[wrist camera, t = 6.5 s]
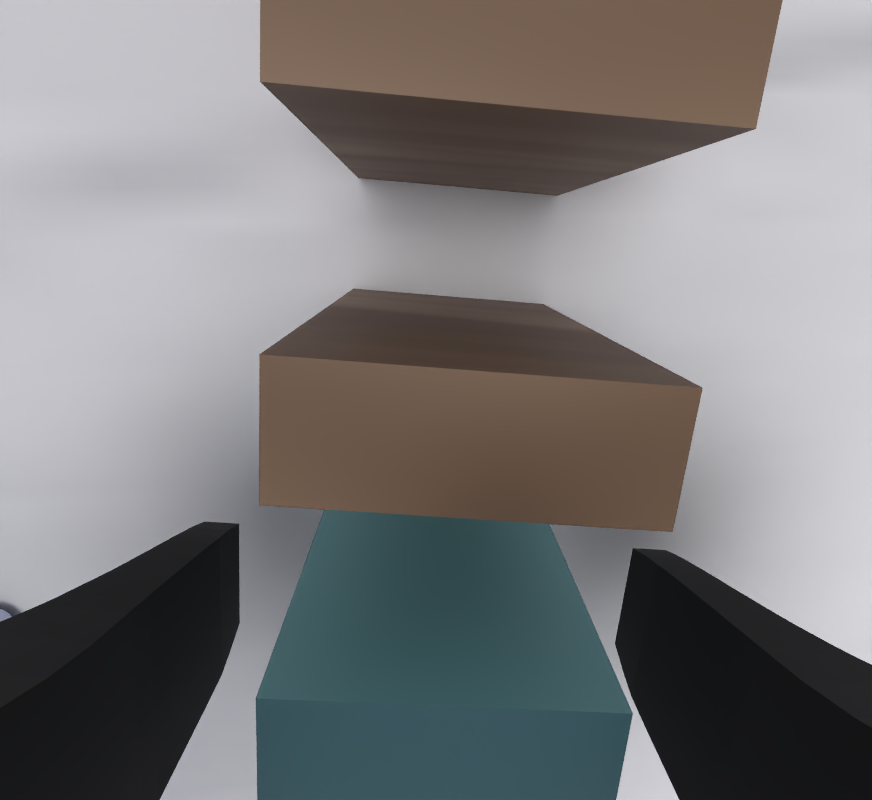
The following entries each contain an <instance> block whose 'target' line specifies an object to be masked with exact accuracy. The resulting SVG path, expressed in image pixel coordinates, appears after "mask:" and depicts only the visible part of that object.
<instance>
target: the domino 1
mask: <svg viewBox="0 0 872 800" xmlns="http://www.w3.org/2000/svg"><path fill="white" fill-rule="evenodd" d="M781 5H782V0H260V82H261V83H262V84H263V85H264V86H265V87H266V88H267V89H268V90H269V91H270V92H271V93H272V94H273V95H274V96H275V97H276V98H278V99H279V100H280V101H281V102H282V103H283V104H284V105H285V106H286V107H287V108H288V109H289V110H290V111H291V112H292V113H293V114H294V115H295V116H296V117H297V118H298V119H299V120H300V121H301V122H302V123H303V124H304V125H305V126H306V127H307V128H308V129H309V130H310V131H311V132H312V133H313V134H314V135H315V136H316V137H317V138H318V139H319V140H320V141H321V142H322V143H323V144H324V145H326V146H327V147H328V148H329V149H330V150H331V151H332V152H333V153H334V154H335V155H336V156H337V157H338V158H339V159H340V160H341V161H342V162H343V163H344V164H345V165H346V166H347V167H348V168H349V169H350V170H351V171H352V172H353V173H354V174H355V175H356V176H357V177H358V178H366V179H377V180H389V181H400V182H411V183H422V184H434V185H445V186H456V187H467V188H479V189H490V190H501V191H512V192H524V193H535V194H546V195H560V194H563V193H566V192H569V191H572V190H575V189H578V188H581V187H584V186H587V185H590V184H593V183H596V182H599V181H602V180H605V179H608V178H611V177H614V176H617V175H620V174H623V173H626V172H629V171H632V170H635V169H638V168H641V167H644V166H647V165H650V164H653V163H655V162H658V161H661V160H664V159H667V158H670V157H673V156H676V155H679V154H682V153H685V152H688V151H691V150H694V149H697V148H700V147H703V146H706V145H709V144H712V143H715V142H718V141H721V140H724V139H727V138H730V137H733V136H736V135H739V134H742V133H745V132H748V131H751V130H754V129H756V125H757V120H758V116H759V111H760V106H761V101H762V96H763V91H764V87H765V82H766V77H767V72H768V67H769V63H770V58H771V53H772V48H773V43H774V38H775V34H776V29H777V24H778V19H779V14H780V9H781Z"/></svg>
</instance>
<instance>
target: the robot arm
mask: <svg viewBox="0 0 872 800" xmlns="http://www.w3.org/2000/svg"><path fill="white" fill-rule="evenodd" d="M239 623H240V622H239V524H233V523H217V522H203V523H200V524H198V525H196V526H193V527H191V528H189V529H187V530H186V531H184V532H182V533H180V534H178V535H176V536H174V537H172V538H171V539H169V540H167V541H165V542H163V543H161V544H160V545H158V546H156V547H154V548H152V549H150V550H149V551H147V552H145V553H143V554H141V555H139V556H138V557H136V558H134V559H132V560H130V561H128V562H126V563H125V564H123V565H121V566H119V567H117V568H115V569H113V570H111V571H109V572H107V573H105V574H103V575H101V576H99V577H97V578H95V579H93V580H91V581H89V582H87V583H85V584H83V585H81V586H79V587H77V588H75V589H73V590H71V591H69V592H67V593H65V594H63V595H61V596H59V597H57V598H54V599H52V600H50V601H48V602H46V603H43V604H41V605H39V606H37V607H34V608H32V609H30V610H27V611H25V612H23V613H20V614H18V615H15V616H13V617H12V616H11V615H10V614H9V613H7V612H6V611H4V610H2V609H0V800H160V798H161V796H162V794H163V792H164V790H165V788H166V786H167V784H168V782H169V780H170V778H171V776H172V774H173V772H174V770H175V768H176V766H177V764H178V762H179V760H180V758H181V756H182V754H183V752H184V750H185V748H186V746H187V744H188V742H189V740H190V738H191V736H192V734H193V732H194V730H195V728H196V726H197V724H198V722H199V720H200V718H201V716H202V714H203V712H204V710H205V708H206V706H207V704H208V702H209V700H210V698H211V696H212V694H213V691H214V689H215V687H216V685H217V683H218V681H219V679H220V677H221V675H222V672H223V669H224V667H225V664H226V661H227V658H228V656H229V653H230V650H231V647H232V644H233V641H234V638H235V635H236V632H237V629H238V626H239ZM615 645H616V648H617V652H618V655H619V659H620V662H621V665H622V669H623V672H624V675H625V678H626V681H627V684H628V687H629V690H630V693H631V696H632V698H633V701H634V703H635V705H636V707H637V710H638V712H639V714H640V716H641V718H642V721H643V723H644V725H645V727H646V729H647V732H648V734H649V736H650V738H651V740H652V742H653V744H654V747H655V749H656V751H657V753H658V755H659V757H660V759H661V762H662V764H663V766H664V768H665V770H666V772H667V774H668V776H669V779H670V781H671V783H672V785H673V787H674V789H675V791H676V794H677V796H678V798H679V800H872V665H871V664H869V663H867V662H865V661H863V660H860V659H858V658H856V657H854V656H852V655H851V654H849V653H847V652H845V651H843V650H841V649H839V648H837V647H835V646H833V645H831V644H829V643H827V642H826V641H824V640H822V639H820V638H818V637H816V636H815V635H813V634H811V633H809V632H807V631H805V630H804V629H802V628H800V627H798V626H796V625H795V624H793V623H791V622H789V621H788V620H786V619H784V618H782V617H781V616H779V615H777V614H775V613H774V612H772V611H770V610H769V609H767V608H765V607H763V606H762V605H760V604H758V603H757V602H755V601H753V600H752V599H750V598H748V597H747V596H745V595H743V594H742V593H740V592H738V591H737V590H735V589H733V588H732V587H730V586H729V585H727V584H725V583H724V582H722V581H720V580H719V579H717V578H715V577H714V576H712V575H710V574H709V573H707V572H705V571H704V570H702V569H700V568H699V567H697V566H695V565H693V564H692V563H690V562H688V561H686V560H684V559H683V558H681V557H679V556H677V555H675V554H673V553H670V552H668V551H666V550H653V549H636V548H633V551H632V556H631V561H630V567H629V572H628V577H627V583H626V588H625V593H624V599H623V604H622V609H621V615H620V620H619V625H618V630H617V636H616V641H615Z"/></svg>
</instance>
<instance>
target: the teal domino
mask: <svg viewBox="0 0 872 800" xmlns="http://www.w3.org/2000/svg"><path fill="white" fill-rule="evenodd" d="M632 714H633V713H632V711H631V709H630V706H629V704H628V702H627V700H626V697H625V695H624V693H623V690H622V688H621V686H620V684H619V681H618V679H617V677H616V675H615V672H614V670H613V668H612V665H611V663H610V661H609V659H608V656H607V654H606V652H605V650H604V647H603V645H602V643H601V641H600V638H599V636H598V634H597V631H596V629H595V627H594V625H593V622H592V620H591V618H590V616H589V613H588V611H587V609H586V606H585V604H584V602H583V600H582V597H581V595H580V593H579V591H578V588H577V586H576V584H575V582H574V579H573V577H572V575H571V572H570V570H569V568H568V566H567V563H566V561H565V559H564V557H563V554H562V552H561V550H560V547H559V545H558V543H557V541H556V538H555V536H554V534H553V532H552V529H551V527H550V525H549V524H542V523H527V522H511V521H496V520H480V519H465V518H449V517H434V516H418V515H403V514H387V513H372V512H356V511H341V510H325V509H324V512H323V515H322V518H321V520H320V523H319V526H318V529H317V531H316V534H315V537H314V540H313V542H312V545H311V548H310V551H309V553H308V556H307V559H306V562H305V564H304V567H303V570H302V573H301V575H300V578H299V581H298V584H297V587H296V589H295V592H294V595H293V598H292V600H291V603H290V606H289V609H288V611H287V614H286V617H285V620H284V622H283V625H282V628H281V631H280V633H279V636H278V639H277V642H276V644H275V647H274V650H273V653H272V655H271V658H270V661H269V664H268V666H267V669H266V672H265V675H264V677H263V680H262V683H261V686H260V688H259V691H258V694H257V697H256V735H257V798H258V800H616V797H617V792H618V787H619V782H620V776H621V771H622V766H623V761H624V756H625V751H626V745H627V740H628V735H629V730H630V725H631V720H632Z"/></svg>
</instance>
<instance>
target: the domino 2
mask: <svg viewBox="0 0 872 800" xmlns="http://www.w3.org/2000/svg"><path fill="white" fill-rule="evenodd" d="M701 392H702V387H700V386H698V385H696V384H694V383H692V382H690V381H688V380H687V379H685V378H683V377H681V376H679V375H677V374H675V373H673V372H671V371H669V370H668V369H666V368H664V367H662V366H660V365H658V364H656V363H654V362H652V361H650V360H648V359H647V358H645V357H643V356H641V355H639V354H637V353H635V352H633V351H631V350H629V349H628V348H626V347H624V346H622V345H620V344H618V343H616V342H614V341H612V340H610V339H609V338H607V337H605V336H603V335H601V334H599V333H597V332H595V331H593V330H591V329H590V328H588V327H586V326H584V325H582V324H580V323H578V322H576V321H574V320H572V319H570V318H569V317H567V316H565V315H563V314H561V313H559V312H557V311H555V310H553V309H551V308H550V307H548V306H546V305H544V304H535V303H522V302H510V301H498V300H485V299H473V298H460V297H448V296H436V295H423V294H411V293H399V292H386V291H374V290H361V289H353V290H351V291H350V292H348V293H347V294H346V295H344V296H343V297H341V298H340V299H338V300H337V301H335V302H334V303H333V304H331V305H330V306H328V307H327V308H325V309H324V310H323V311H321V312H320V313H318V314H317V315H315V316H314V317H313V318H311V319H310V320H308V321H307V322H305V323H304V324H303V325H301V326H300V327H298V328H297V329H295V330H294V331H293V332H291V333H290V334H288V335H287V336H285V337H284V338H282V339H281V340H280V341H278V342H277V343H275V344H274V345H272V346H271V347H270V348H268V349H267V350H265V351H264V352H262V353H261V354H260V416H259V505H263V506H279V507H294V508H310V509H325V510H341V511H356V512H372V513H387V514H403V515H418V516H434V517H449V518H465V519H480V520H496V521H511V522H527V523H542V524H558V525H573V526H589V527H604V528H620V529H635V530H651V531H666V532H673V527H674V523H675V518H676V513H677V508H678V503H679V498H680V494H681V489H682V484H683V479H684V474H685V469H686V465H687V460H688V455H689V450H690V445H691V441H692V436H693V431H694V426H695V421H696V416H697V412H698V407H699V402H700V397H701Z"/></svg>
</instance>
